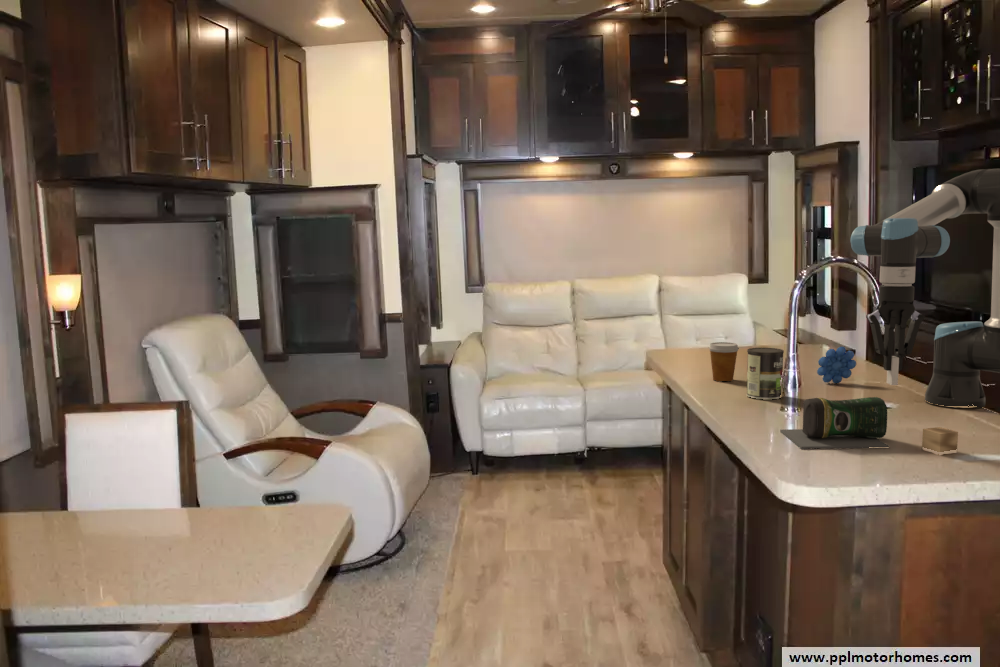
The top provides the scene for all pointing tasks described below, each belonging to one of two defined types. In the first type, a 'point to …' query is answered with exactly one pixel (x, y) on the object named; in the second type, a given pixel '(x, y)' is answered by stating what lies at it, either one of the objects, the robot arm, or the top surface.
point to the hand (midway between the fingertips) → (892, 383)
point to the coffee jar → (845, 417)
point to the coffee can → (764, 373)
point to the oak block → (939, 439)
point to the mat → (830, 441)
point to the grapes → (836, 365)
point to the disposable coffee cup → (723, 360)
